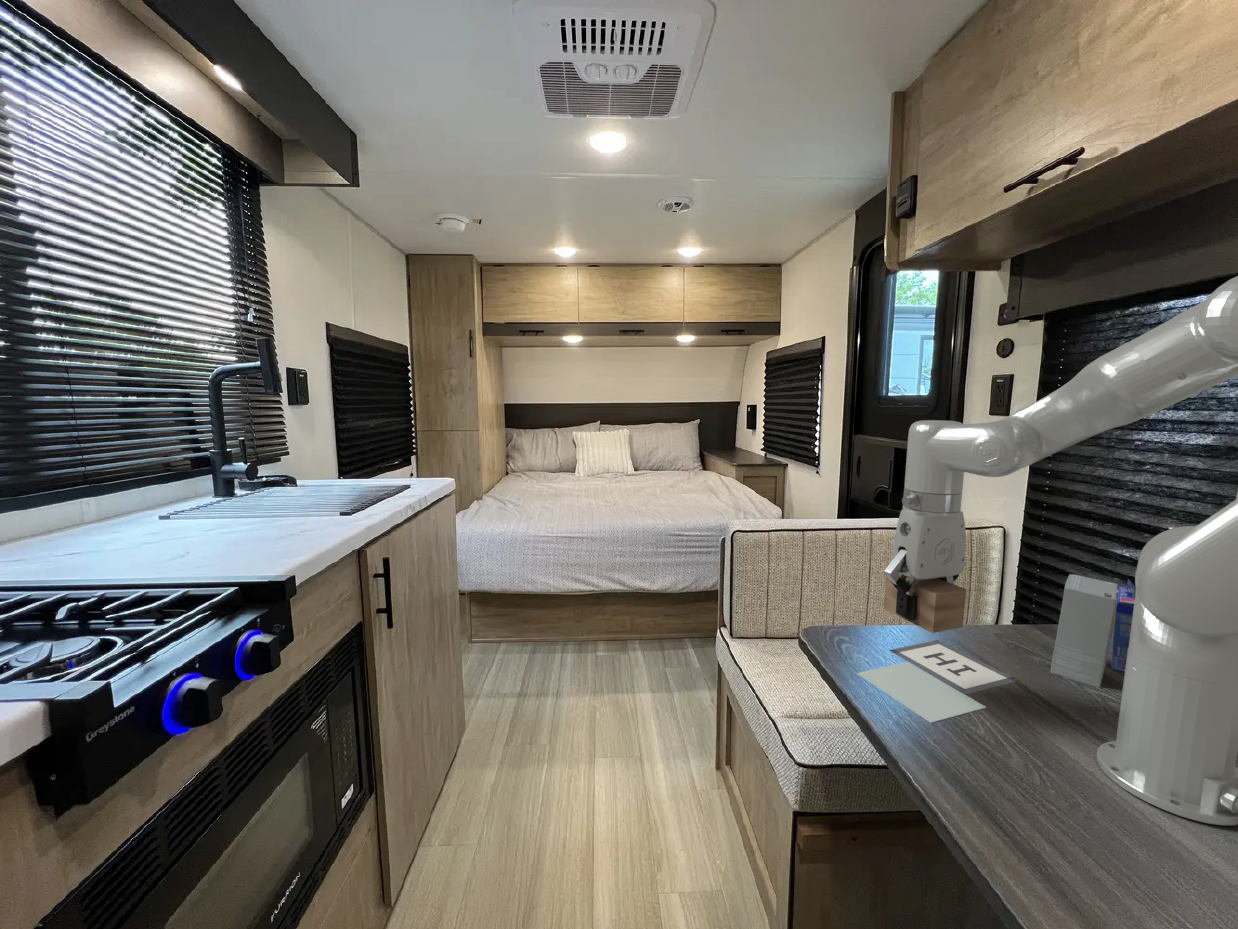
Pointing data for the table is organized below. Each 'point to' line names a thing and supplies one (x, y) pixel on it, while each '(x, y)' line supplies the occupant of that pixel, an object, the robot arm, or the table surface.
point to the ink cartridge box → (1122, 626)
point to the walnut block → (932, 604)
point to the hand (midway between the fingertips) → (922, 613)
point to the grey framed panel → (954, 666)
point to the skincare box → (1085, 629)
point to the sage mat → (921, 692)
